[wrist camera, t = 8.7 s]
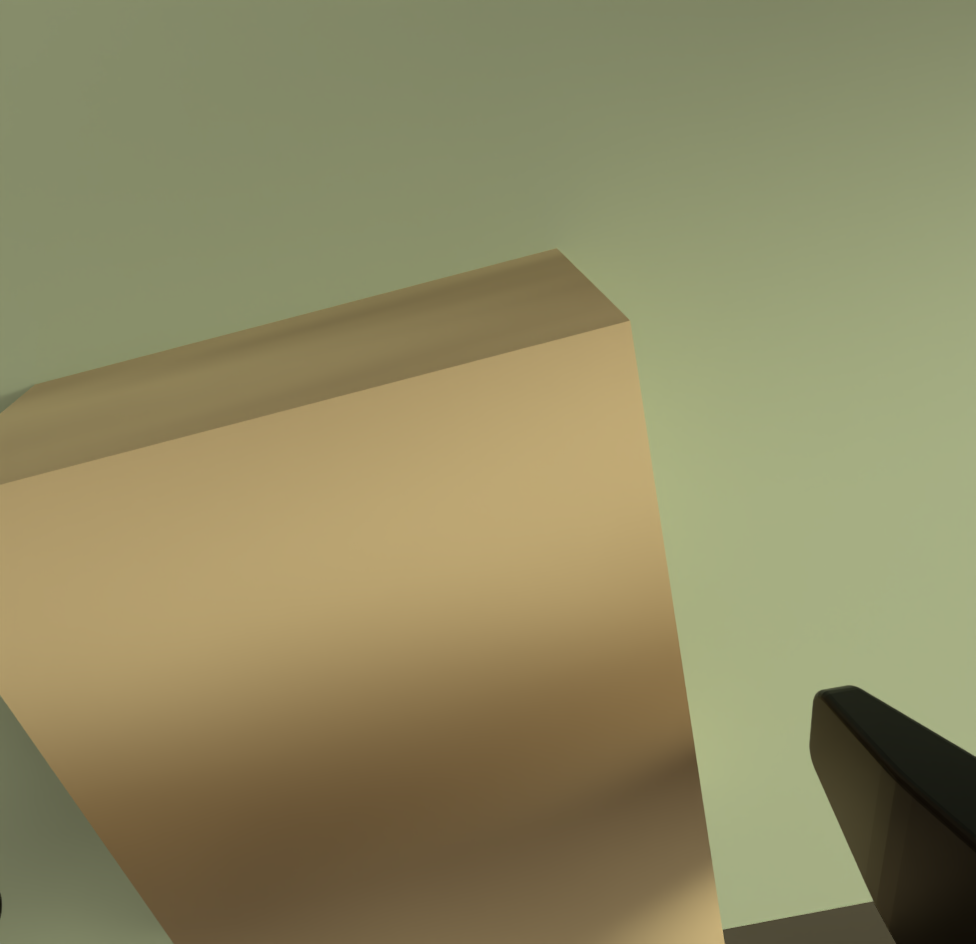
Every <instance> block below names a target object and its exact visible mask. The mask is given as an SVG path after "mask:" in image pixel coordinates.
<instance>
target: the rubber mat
mask: <svg viewBox="0 0 976 944" xmlns="http://www.w3.org/2000/svg"><path fill="white" fill-rule="evenodd" d="M555 248H557V249H558V250H559V251H560V252H561V253H562V254H563V255H564V256H565V257H566V258H567V259H568V260H569V261H570V262H571V263H572V264H573V265H574V266H575V267H576V268H577V269H578V270H580V271H581V272H582V273H583V274H584V275H585V276H586V277H587V278H588V279H589V280H590V281H591V282H592V283H593V284H594V285H595V286H596V287H597V288H598V289H599V290H600V291H601V292H602V293H603V294H604V295H605V296H606V297H607V298H608V299H609V300H610V301H611V302H612V303H613V304H614V305H615V306H616V307H617V308H618V309H619V310H620V311H621V312H622V313H623V314H624V315H625V316H626V317H627V318H628V319H629V320H630V322H631V329H632V335H633V342H634V349H635V355H636V362H637V368H638V375H639V382H640V388H641V395H642V401H643V408H644V415H645V421H646V428H647V434H648V441H649V448H650V454H651V461H652V468H653V474H654V481H655V487H656V494H657V501H658V507H659V514H660V520H661V527H662V534H663V540H664V547H665V553H666V560H667V567H668V573H669V580H670V586H671V593H672V600H673V606H674V613H675V620H676V626H677V633H678V639H679V646H680V653H681V659H682V666H683V672H684V679H685V686H686V692H687V699H688V705H689V712H690V719H691V725H692V732H693V738H694V745H695V752H696V758H697V765H698V771H699V778H700V785H701V791H702V798H703V805H704V811H705V818H706V824H707V831H708V838H709V844H710V851H711V857H712V864H713V871H714V877H715V884H716V890H717V897H718V904H719V910H720V917H721V923H722V930H723V929H728V928H733V927H739V926H744V925H749V924H754V923H760V922H765V921H770V920H776V919H781V918H786V917H792V916H797V915H802V914H808V913H813V912H818V911H823V910H829V909H834V908H839V907H845V906H850V905H855V904H861V903H866V902H871V901H873V899H872V897H871V895H870V893H869V891H868V889H867V886H866V884H865V882H864V880H863V878H862V875H861V873H860V871H859V869H858V866H857V864H856V862H855V859H854V857H853V855H852V853H851V850H850V848H849V846H848V844H847V841H846V839H845V837H844V835H843V832H842V830H841V828H840V826H839V823H838V821H837V819H836V816H835V814H834V812H833V810H832V807H831V805H830V803H829V801H828V798H827V796H826V794H825V792H824V789H823V787H822V785H821V783H820V780H819V778H818V776H817V773H816V771H815V769H814V766H813V763H812V760H811V756H810V750H809V740H810V728H811V716H812V705H813V699H814V696H815V694H816V693H817V692H818V691H820V690H823V689H829V688H834V687H840V686H846V685H853V686H856V687H859V688H861V689H863V690H865V691H866V692H868V693H870V694H871V695H873V696H875V697H876V698H878V699H880V700H881V701H883V702H885V703H887V704H888V705H890V706H892V707H893V708H895V709H897V710H898V711H900V712H902V713H903V714H905V715H907V716H908V717H910V718H912V719H914V720H915V721H917V722H919V723H920V724H922V725H924V726H925V727H927V728H929V729H930V730H932V731H934V732H935V733H937V734H939V735H940V736H942V737H944V738H946V739H947V740H949V741H951V742H952V743H954V744H956V745H957V746H959V747H961V748H962V749H964V750H966V751H967V752H969V753H971V754H973V755H974V756H976V0H0V413H1V412H3V411H4V410H5V409H6V408H7V407H9V406H10V405H11V404H12V403H13V402H15V401H16V400H17V399H18V398H19V397H21V396H22V395H23V394H24V393H25V392H27V391H28V390H29V389H30V388H31V387H33V386H34V385H35V384H39V383H42V382H46V381H50V380H54V379H58V378H62V377H65V376H69V375H73V374H77V373H81V372H85V371H88V370H92V369H96V368H100V367H104V366H108V365H111V364H115V363H119V362H123V361H127V360H131V359H134V358H138V357H142V356H146V355H150V354H153V353H157V352H161V351H165V350H169V349H173V348H176V347H180V346H184V345H188V344H192V343H196V342H199V341H203V340H207V339H211V338H215V337H219V336H222V335H226V334H230V333H234V332H238V331H242V330H245V329H249V328H253V327H257V326H261V325H264V324H268V323H272V322H276V321H280V320H284V319H287V318H291V317H295V316H299V315H303V314H307V313H310V312H314V311H318V310H322V309H326V308H330V307H333V306H337V305H341V304H345V303H349V302H353V301H356V300H360V299H364V298H368V297H372V296H375V295H379V294H383V293H387V292H391V291H395V290H398V289H402V288H406V287H410V286H414V285H418V284H421V283H425V282H429V281H433V280H437V279H441V278H444V277H448V276H452V275H456V274H460V273H464V272H467V271H471V270H475V269H479V268H483V267H486V266H490V265H494V264H498V263H502V262H506V261H509V260H513V259H517V258H521V257H525V256H529V255H532V254H536V253H540V252H544V251H548V250H552V249H555ZM0 893H1V897H2V913H1V918H0V944H174V943H173V942H172V941H171V939H170V938H169V936H168V935H167V933H166V932H165V931H164V929H163V928H162V926H161V925H160V923H159V922H158V921H157V919H156V918H155V916H154V915H153V913H152V912H151V910H150V909H149V908H148V906H147V905H146V903H145V902H144V900H143V899H142V898H141V896H140V895H139V893H138V892H137V890H136V889H135V888H134V886H133V885H132V883H131V882H130V880H129V879H128V877H127V876H126V875H125V873H124V872H123V870H122V869H121V867H120V866H119V865H118V863H117V862H116V860H115V859H114V857H113V856H112V855H111V853H110V852H109V850H108V849H107V847H106V846H105V845H104V843H103V842H102V840H101V839H100V837H99V836H98V834H97V833H96V832H95V830H94V829H93V827H92V826H91V824H90V823H89V822H88V820H87V819H86V817H85V816H84V814H83V813H82V812H81V810H80V809H79V807H78V806H77V804H76V803H75V801H74V800H73V799H72V797H71V796H70V794H69V793H68V791H67V790H66V789H65V787H64V786H63V784H62V783H61V781H60V780H59V779H58V777H57V776H56V774H55V773H54V771H53V770H52V769H51V767H50V766H49V764H48V763H47V761H46V760H45V758H44V757H43V756H42V754H41V753H40V751H39V750H38V748H37V747H36V746H35V744H34V743H33V741H32V740H31V738H30V737H29V736H28V734H27V733H26V731H25V730H24V728H23V727H22V725H21V724H20V723H19V721H18V720H17V718H16V717H15V715H14V714H13V713H12V711H11V710H10V708H9V707H8V705H7V704H6V703H5V701H4V700H3V698H2V697H1V695H0Z"/></svg>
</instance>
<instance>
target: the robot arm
mask: <svg viewBox="0 0 976 944" xmlns="http://www.w3.org/2000/svg"><path fill="white" fill-rule="evenodd" d="M809 750H810V756H811V760H812V763H813V766H814V769H815V771H816V773H817V776H818V778H819V780H820V783H821V785H822V787H823V789H824V792H825V794H826V796H827V798H828V801H829V803H830V805H831V807H832V810H833V812H834V814H835V816H836V819H837V821H838V823H839V826H840V828H841V830H842V832H843V835H844V837H845V839H846V841H847V844H848V846H849V848H850V850H851V853H852V855H853V857H854V859H855V862H856V864H857V866H858V869H859V871H860V873H861V875H862V878H863V880H864V882H865V884H866V886H867V889H868V891H869V893H870V895H871V897H872V899H873V901H874V903H875V906H876V908H877V909H878V911H879V913H880V915H881V917H882V919H883V921H884V922H885V924H886V926H887V928H888V930H889V932H890V933H891V935H892V937H893V939H894V941H895V942H896V944H976V756H974V755H973V754H971V753H969V752H967V751H966V750H964V749H962V748H961V747H959V746H957V745H956V744H954V743H952V742H951V741H949V740H947V739H946V738H944V737H942V736H940V735H939V734H937V733H935V732H934V731H932V730H930V729H929V728H927V727H925V726H924V725H922V724H920V723H919V722H917V721H915V720H914V719H912V718H910V717H908V716H907V715H905V714H903V713H902V712H900V711H898V710H897V709H895V708H893V707H892V706H890V705H888V704H887V703H885V702H883V701H881V700H880V699H878V698H876V697H875V696H873V695H871V694H870V693H868V692H866V691H865V690H863V689H861V688H859V687H856V686H853V685H846V686H840V687H834V688H829V689H823V690H820V691H818V692H817V693H816V694H815V696H814V699H813V705H812V716H811V728H810V740H809ZM1 913H2V897H1V893H0V918H1Z"/></svg>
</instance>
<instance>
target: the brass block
mask: <svg viewBox="0 0 976 944" xmlns="http://www.w3.org/2000/svg"><path fill="white" fill-rule="evenodd" d="M0 695H1V697H2V698H3V700H4V701H5V703H6V704H7V705H8V707H9V708H10V710H11V711H12V713H13V714H14V715H15V717H16V718H17V720H18V721H19V723H20V724H21V725H22V727H23V728H24V730H25V731H26V733H27V734H28V736H29V737H30V738H31V740H32V741H33V743H34V744H35V746H36V747H37V748H38V750H39V751H40V753H41V754H42V756H43V757H44V758H45V760H46V761H47V763H48V764H49V766H50V767H51V769H52V770H53V771H54V773H55V774H56V776H57V777H58V779H59V780H60V781H61V783H62V784H63V786H64V787H65V789H66V790H67V791H68V793H69V794H70V796H71V797H72V799H73V800H74V801H75V803H76V804H77V806H78V807H79V809H80V810H81V812H82V813H83V814H84V816H85V817H86V819H87V820H88V822H89V823H90V824H91V826H92V827H93V829H94V830H95V832H96V833H97V834H98V836H99V837H100V839H101V840H102V842H103V843H104V845H105V846H106V847H107V849H108V850H109V852H110V853H111V855H112V856H113V857H114V859H115V860H116V862H117V863H118V865H119V866H120V867H121V869H122V870H123V872H124V873H125V875H126V876H127V877H128V879H129V880H130V882H131V883H132V885H133V886H134V888H135V889H136V890H137V892H138V893H139V895H140V896H141V898H142V899H143V900H144V902H145V903H146V905H147V906H148V908H149V909H150V910H151V912H152V913H153V915H154V916H155V918H156V919H157V921H158V922H159V923H160V925H161V926H162V928H163V929H164V931H165V932H166V933H167V935H168V936H169V938H170V939H171V941H172V942H173V943H174V944H725V943H724V937H723V930H722V923H721V917H720V910H719V904H718V897H717V890H716V884H715V877H714V871H713V864H712V857H711V851H710V844H709V838H708V831H707V824H706V818H705V811H704V805H703V798H702V791H701V785H700V778H699V771H698V765H697V758H696V752H695V745H694V738H693V732H692V725H691V719H690V712H689V705H688V699H687V692H686V686H685V679H684V672H683V666H682V659H681V653H680V646H679V639H678V633H677V626H676V620H675V613H674V606H673V600H672V593H671V586H670V580H669V573H668V567H667V560H666V553H665V547H664V540H663V534H662V527H661V520H660V514H659V507H658V501H657V494H656V487H655V481H654V474H653V468H652V461H651V454H650V448H649V441H648V434H647V428H646V421H645V415H644V408H643V401H642V395H641V388H640V382H639V375H638V368H637V362H636V355H635V349H634V342H633V335H632V329H631V322H630V320H629V319H628V318H627V317H626V316H625V315H624V314H623V313H622V312H621V311H620V310H619V309H618V308H617V307H616V306H615V305H614V304H613V303H612V302H611V301H610V300H609V299H608V298H607V297H606V296H605V295H604V294H603V293H602V292H601V291H600V290H599V289H598V288H597V287H596V286H595V285H594V284H593V283H592V282H591V281H590V280H589V279H588V278H587V277H586V276H585V275H584V274H583V273H582V272H581V271H580V270H578V269H577V268H576V267H575V266H574V265H573V264H572V263H571V262H570V261H569V260H568V259H567V258H566V257H565V256H564V255H563V254H562V253H561V252H560V251H559V250H558V249H557V248H555V249H552V250H548V251H544V252H540V253H536V254H532V255H529V256H525V257H521V258H517V259H513V260H509V261H506V262H502V263H498V264H494V265H490V266H486V267H483V268H479V269H475V270H471V271H467V272H464V273H460V274H456V275H452V276H448V277H444V278H441V279H437V280H433V281H429V282H425V283H421V284H418V285H414V286H410V287H406V288H402V289H398V290H395V291H391V292H387V293H383V294H379V295H375V296H372V297H368V298H364V299H360V300H356V301H353V302H349V303H345V304H341V305H337V306H333V307H330V308H326V309H322V310H318V311H314V312H310V313H307V314H303V315H299V316H295V317H291V318H287V319H284V320H280V321H276V322H272V323H268V324H264V325H261V326H257V327H253V328H249V329H245V330H242V331H238V332H234V333H230V334H226V335H222V336H219V337H215V338H211V339H207V340H203V341H199V342H196V343H192V344H188V345H184V346H180V347H176V348H173V349H169V350H165V351H161V352H157V353H153V354H150V355H146V356H142V357H138V358H134V359H131V360H127V361H123V362H119V363H115V364H111V365H108V366H104V367H100V368H96V369H92V370H88V371H85V372H81V373H77V374H73V375H69V376H65V377H62V378H58V379H54V380H50V381H46V382H42V383H39V384H35V385H34V386H33V387H31V388H30V389H29V390H28V391H27V392H25V393H24V394H23V395H22V396H21V397H19V398H18V399H17V400H16V401H15V402H13V403H12V404H11V405H10V406H9V407H7V408H6V409H5V410H4V411H3V412H1V413H0Z"/></svg>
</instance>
